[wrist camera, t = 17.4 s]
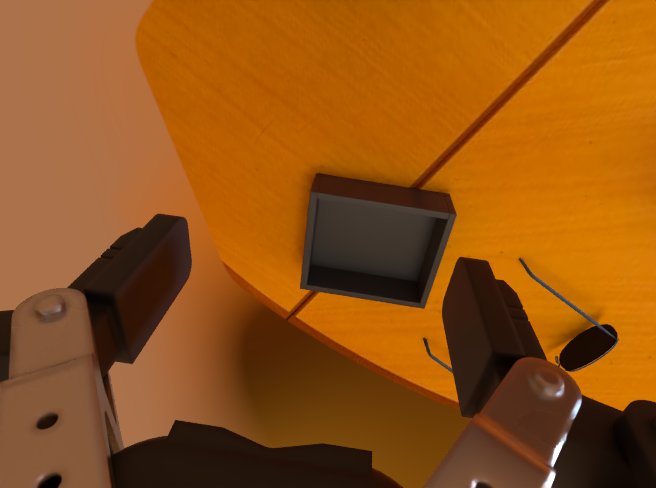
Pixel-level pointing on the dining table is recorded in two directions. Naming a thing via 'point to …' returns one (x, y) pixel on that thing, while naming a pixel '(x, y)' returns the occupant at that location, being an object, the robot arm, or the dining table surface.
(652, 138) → the dining table surface
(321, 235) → the bin
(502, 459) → the robot arm
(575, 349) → the sunglasses
